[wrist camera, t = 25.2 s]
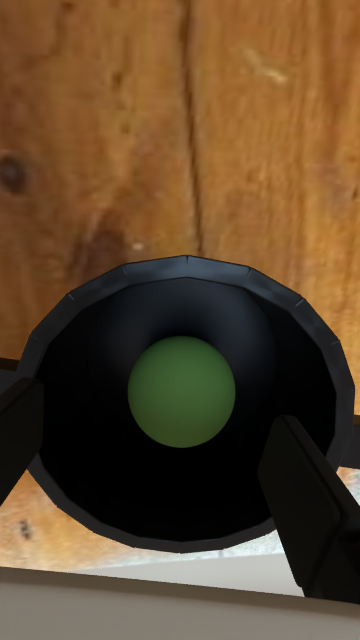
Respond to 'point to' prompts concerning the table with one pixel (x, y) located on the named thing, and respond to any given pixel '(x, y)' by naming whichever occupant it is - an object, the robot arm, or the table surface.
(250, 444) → the pan
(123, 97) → the table surface
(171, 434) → the ball
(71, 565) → the table surface
